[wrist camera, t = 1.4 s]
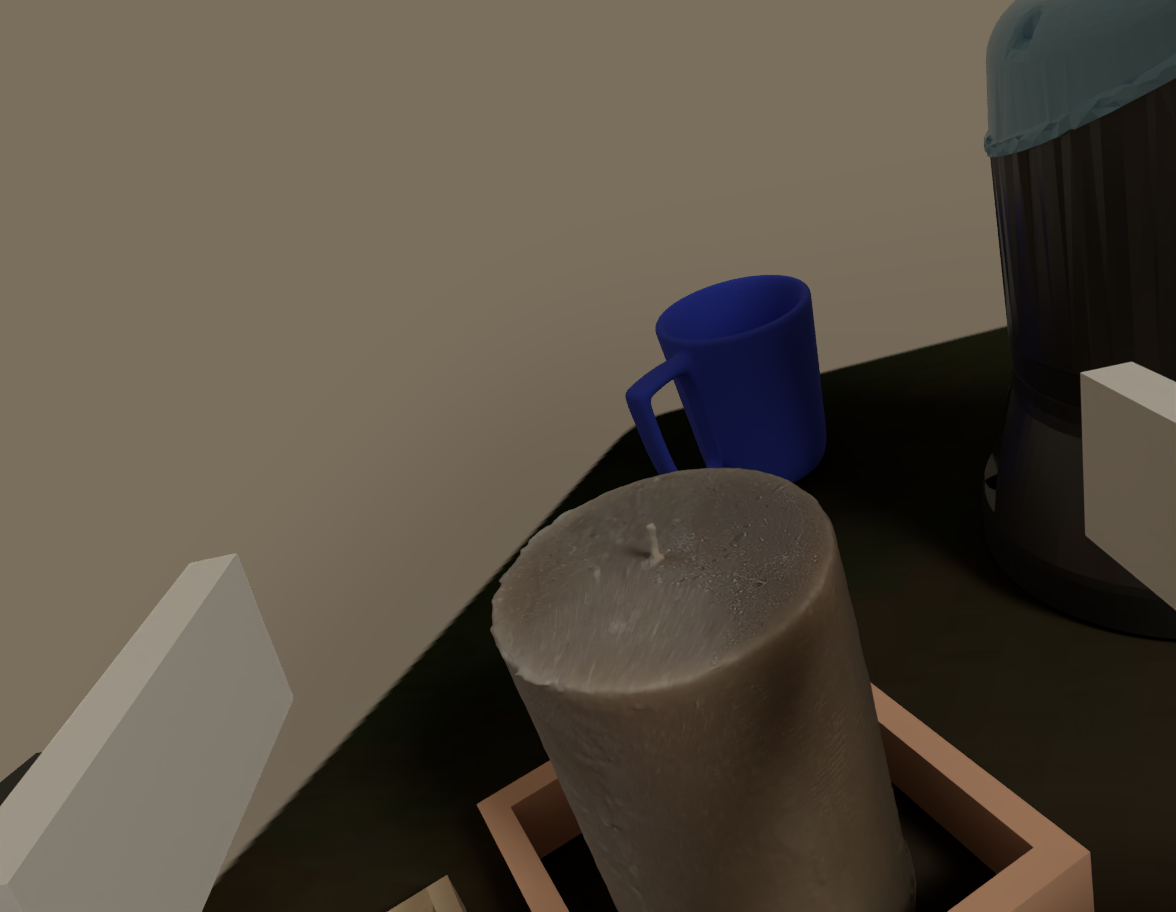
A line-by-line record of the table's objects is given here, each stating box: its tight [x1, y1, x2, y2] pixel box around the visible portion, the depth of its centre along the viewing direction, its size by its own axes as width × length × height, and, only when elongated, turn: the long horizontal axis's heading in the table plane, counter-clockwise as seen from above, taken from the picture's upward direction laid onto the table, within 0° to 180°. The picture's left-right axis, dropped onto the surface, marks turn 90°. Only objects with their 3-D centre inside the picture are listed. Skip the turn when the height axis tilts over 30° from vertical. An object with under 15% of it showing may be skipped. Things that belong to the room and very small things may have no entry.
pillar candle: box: [490, 468, 916, 912], centre depth 28 cm, size 10×10×15 cm
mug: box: [626, 275, 826, 483], centre depth 51 cm, size 8×12×10 cm
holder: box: [477, 683, 1094, 912], centre depth 31 cm, size 14×14×3 cm
